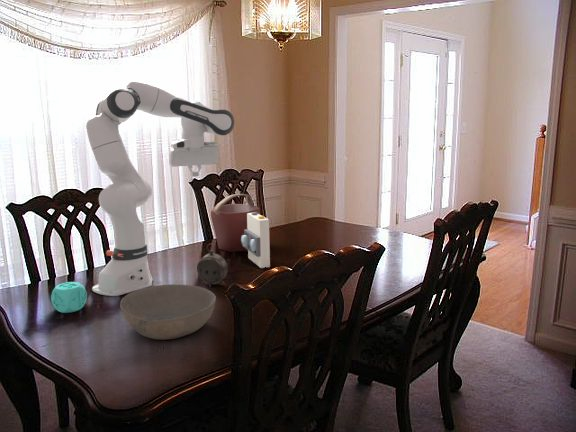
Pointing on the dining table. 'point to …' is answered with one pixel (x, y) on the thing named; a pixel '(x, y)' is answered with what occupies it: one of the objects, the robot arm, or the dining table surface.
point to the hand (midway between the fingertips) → (195, 176)
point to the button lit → (253, 244)
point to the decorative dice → (69, 297)
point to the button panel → (258, 239)
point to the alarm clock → (212, 268)
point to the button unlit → (245, 240)
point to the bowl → (168, 310)
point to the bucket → (231, 222)
